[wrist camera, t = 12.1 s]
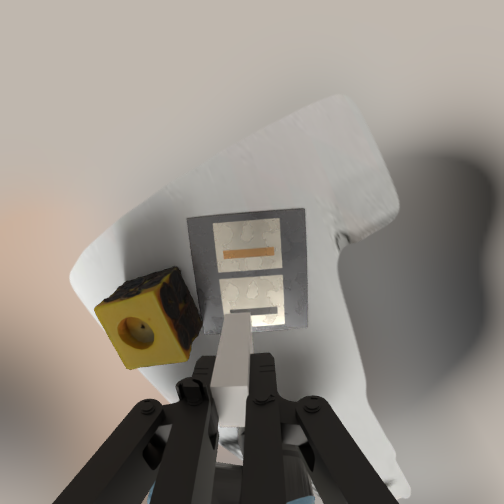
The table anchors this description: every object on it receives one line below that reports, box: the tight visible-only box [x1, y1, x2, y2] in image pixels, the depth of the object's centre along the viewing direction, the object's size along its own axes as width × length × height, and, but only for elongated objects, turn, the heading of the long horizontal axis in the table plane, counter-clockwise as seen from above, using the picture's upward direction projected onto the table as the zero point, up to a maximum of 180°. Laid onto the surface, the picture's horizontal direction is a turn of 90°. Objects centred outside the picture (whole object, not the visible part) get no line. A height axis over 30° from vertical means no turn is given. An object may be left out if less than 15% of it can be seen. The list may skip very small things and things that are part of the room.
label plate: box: [187, 209, 308, 334], centre depth 40 cm, size 18×16×1 cm
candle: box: [94, 266, 203, 370], centre depth 36 cm, size 10×10×10 cm
